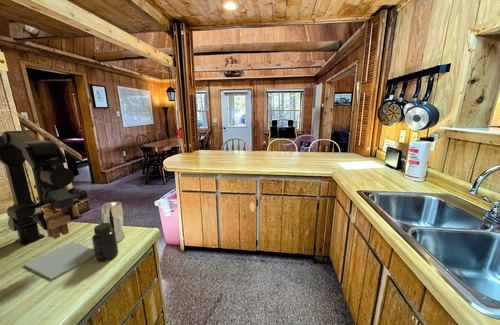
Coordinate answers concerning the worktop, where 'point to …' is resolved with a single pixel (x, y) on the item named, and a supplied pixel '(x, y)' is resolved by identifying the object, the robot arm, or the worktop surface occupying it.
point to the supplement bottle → (104, 242)
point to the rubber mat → (60, 260)
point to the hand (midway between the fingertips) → (56, 225)
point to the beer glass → (114, 218)
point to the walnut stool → (57, 224)
